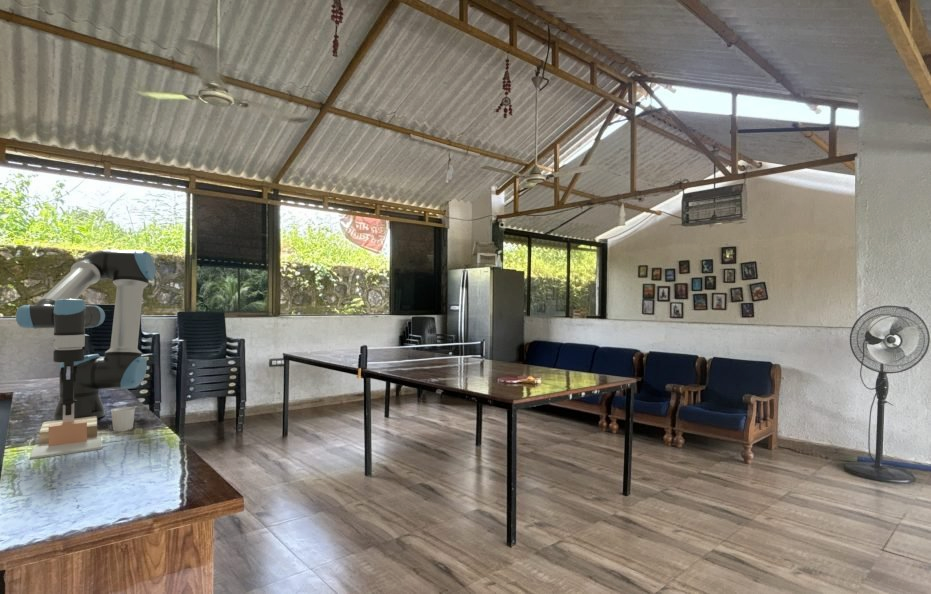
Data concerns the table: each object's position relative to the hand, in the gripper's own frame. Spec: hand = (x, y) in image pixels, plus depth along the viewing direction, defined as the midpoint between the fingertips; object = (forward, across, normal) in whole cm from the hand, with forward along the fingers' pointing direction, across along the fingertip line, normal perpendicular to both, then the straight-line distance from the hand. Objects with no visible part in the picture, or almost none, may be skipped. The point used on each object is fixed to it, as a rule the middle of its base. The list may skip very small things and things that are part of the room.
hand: (68, 424), depth 153 cm
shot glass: (+6, -10, +14) cm, 18 cm away
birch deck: (+5, -9, 0) cm, 10 cm away
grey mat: (+6, +7, 0) cm, 9 cm away
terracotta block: (+2, +2, 0) cm, 3 cm away
